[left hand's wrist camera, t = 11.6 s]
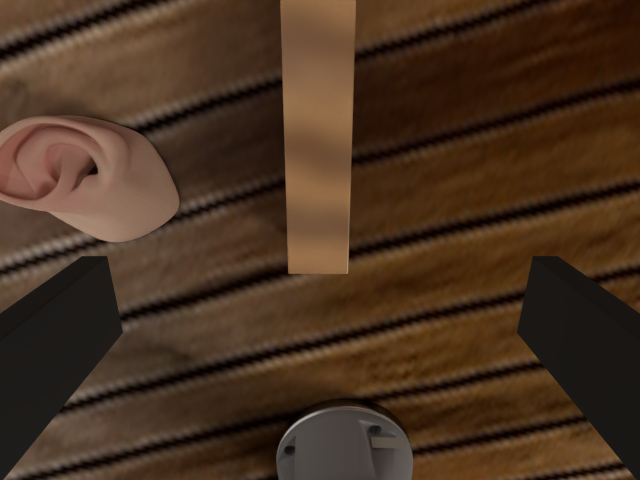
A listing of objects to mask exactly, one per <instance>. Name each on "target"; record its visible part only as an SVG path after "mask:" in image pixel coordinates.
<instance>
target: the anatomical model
mask: <svg viewBox="0 0 640 480" xmlns="http://www.w3.org/2000/svg"><path fill="white" fill-rule="evenodd" d="M0 200H3V201H5V202H8V203H11V204H14V205H17V206H21V207H24V208H29V209H34V210H40V211H48V212H49V213H51V214H52V215H54V216H56V217H57V218H59V219H61V220H62V221H64V222H66V223H68V224H70V225H71V226H73V227H75V228H77V229H79V230H81V231H83V232H85V233H87V234H89V235H91V236H93V237H96V238H98V239H101V240H105V241H109V242H125V241H129V240H133V239H136V238H139V237H141V236H144V235H146V234H148V233H150V232H152V231H153V230H155V229H157V228H158V227H160V226H161V225H163V224H164V223H166V222H167V221H168V220H169V219H171V218H172V217H173V216H174V215H175V213H176V212H177V210H178V208H179V196H178V193H177V190H176V187H175V184H174V182H173V180H172V178H171V176H170V174H169V172H168V169H167V167H166V165H165V164H164V162H163V160H162V159H161V157H160V156H159V154H158V153H157V151H156V150H155V148H154V147H153V145H152V144H151V143H150V142H149V141H148V139H146V138H145V137H144V136H143V135H141V134H140V133H138V132H136V131H134V130H131V129H129V128H126V127H123V126H120V125H117V124H114V123H110V122H107V121H103V120H99V119H95V118H90V117H84V116H75V115H60V116H53V115H41V116H33V117H29V118H26V119H23V120H20V121H18V122H16V123H14V124H12V125H10V126H9V127H7V128H6V129H4V130H3V131H1V132H0Z"/></svg>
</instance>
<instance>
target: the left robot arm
mask: <svg viewBox="0 0 640 480" xmlns="http://www.w3.org/2000/svg"><path fill="white" fill-rule="evenodd" d="M122 333H123V331H122V326H121V321H120V316H119V311H118V307H117V302H116V297H115V292H114V287H113V283H112V278H111V273H110V268H109V263H108V259H107V256H82V257H80V258H79V259H78V260H76V261H75V262H73V263H72V264H70V265H69V266H68V267H66V268H65V269H63V270H62V271H60V272H59V273H58V274H56V275H55V276H53V277H52V278H50V279H49V280H48V281H46V282H45V283H43V284H42V285H40V286H39V287H38V288H36V289H35V290H33V291H32V292H30V293H29V294H28V295H26V296H25V297H23V298H22V299H20V300H19V301H18V302H16V303H15V304H13V305H12V306H10V307H9V308H8V309H6V310H5V311H3V312H2V313H0V480H3V479H4V478H5V477H6V476H7V474H8V473H9V472H10V471H11V470H12V468H13V467H14V466H15V465H16V463H17V462H18V461H19V460H20V458H21V457H22V456H23V455H24V454H25V452H26V451H27V450H28V449H29V447H30V446H31V445H32V444H33V442H34V441H35V440H36V439H37V438H38V436H39V435H40V434H41V433H42V431H43V430H44V429H45V428H46V426H47V425H48V424H49V423H50V422H51V420H52V419H53V418H54V417H55V415H56V414H57V413H58V412H59V410H60V409H61V408H62V407H63V406H64V404H65V403H66V402H67V401H68V399H69V398H70V397H71V396H72V394H73V393H74V392H75V391H76V390H77V388H78V387H79V386H80V385H81V383H82V382H83V381H84V380H85V379H86V377H87V376H88V375H89V374H90V372H91V371H92V370H93V369H94V367H95V366H96V365H97V364H98V363H99V361H100V360H101V359H102V358H103V356H104V355H105V354H106V353H107V351H108V350H109V349H110V348H111V347H112V345H113V344H114V343H115V342H116V340H117V339H118V338H119V337H120V335H121V334H122ZM517 333H518V334H519V335H520V337H521V338H522V339H523V340H524V342H525V343H526V344H527V345H528V347H529V348H530V349H531V350H532V351H533V353H534V354H535V355H536V356H537V358H538V359H539V360H540V361H541V363H542V364H543V365H544V366H545V367H546V369H547V370H548V371H549V372H550V374H551V375H552V376H553V377H554V379H555V380H556V381H557V382H558V383H559V385H560V386H561V387H562V388H563V390H564V391H565V392H566V393H567V395H568V396H569V397H570V398H571V399H572V401H573V402H574V403H575V404H576V406H577V407H578V408H579V409H580V410H581V412H582V413H583V414H584V415H585V417H586V418H587V419H588V420H589V422H590V423H591V424H592V425H593V426H594V428H595V429H596V430H597V431H598V433H599V434H600V435H601V436H602V438H603V439H604V440H605V441H606V442H607V444H608V445H609V446H610V447H611V449H612V450H613V451H614V452H615V454H616V455H617V456H618V457H619V458H620V460H621V461H622V462H623V463H624V465H625V466H626V467H627V468H628V470H629V471H630V472H631V473H632V474H633V476H634V477H635V478H636V479H637V480H640V313H638V312H637V311H635V310H634V309H632V308H631V307H630V306H628V305H627V304H625V303H624V302H622V301H621V300H620V299H618V298H617V297H615V296H614V295H612V294H611V293H610V292H608V291H607V290H605V289H604V288H602V287H601V286H600V285H598V284H597V283H595V282H594V281H592V280H591V279H590V278H588V277H587V276H585V275H584V274H582V273H581V272H580V271H578V270H577V269H575V268H574V267H572V266H571V265H570V264H568V263H567V262H565V261H564V260H562V259H561V258H560V257H558V256H533V259H532V263H531V268H530V273H529V278H528V283H527V287H526V292H525V297H524V302H523V307H522V311H521V316H520V321H519V326H518V331H517ZM276 464H277V473H278V477H279V480H411V479H412V470H413V455H412V449H411V445H410V441H409V437H408V435H407V432H406V430H405V428H404V427H403V425H402V424H401V422H400V421H399V420H398V419H397V418H396V417H395V416H394V415H392V414H391V413H390V412H388V411H387V410H385V409H383V408H381V407H379V406H377V405H374V404H371V403H368V402H364V401H358V400H332V401H327V402H322V403H319V404H316V405H313V406H311V407H309V408H307V409H305V410H303V411H302V412H300V413H299V414H297V415H296V416H295V417H294V418H292V419H291V420H290V421H289V423H288V424H287V425H286V426H285V428H284V429H283V431H282V433H281V435H280V438H279V442H278V449H277V457H276Z"/></svg>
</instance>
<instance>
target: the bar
mask: <svg viewBox="0 0 640 480" xmlns="http://www.w3.org/2000/svg"><path fill="white" fill-rule="evenodd" d="M280 14H281V47H282V80H283V113H284V146H285V179H286V212H287V245H288V273H289V274H348V259H349V225H350V191H351V157H352V123H353V88H354V54H355V20H356V0H280Z"/></svg>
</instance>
